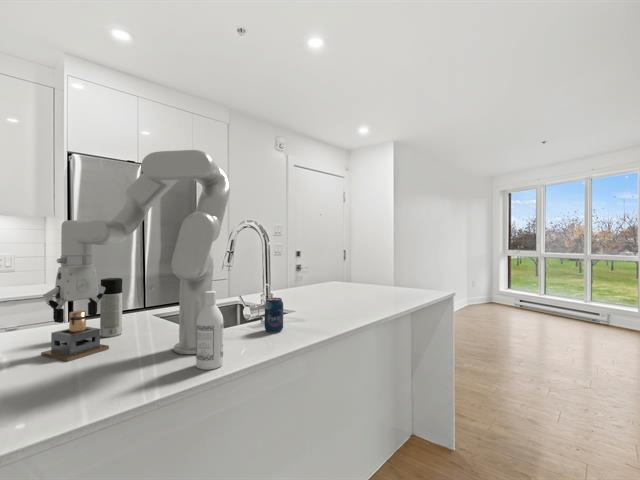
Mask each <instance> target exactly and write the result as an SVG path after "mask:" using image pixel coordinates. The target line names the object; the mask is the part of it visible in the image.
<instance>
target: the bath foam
mask: <svg viewBox="0 0 640 480" xmlns="http://www.w3.org/2000/svg"><path fill="white" fill-rule="evenodd" d="M195 363H196V364H195V365H196V367H197V368H198V369H199V370H203V371H204V370H205V371H208V370H215V369H218V368H220V367H221V366H223V364H224V316H223V313H222V312H221V310H220V308H219V307H218V306H217V292H216V291H215V290H212V291H206V292H205V305H204V307H203V308H202V310H201V312H200V313H199V315H198V318H197V324H196V354H195Z"/></svg>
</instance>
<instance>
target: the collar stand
mask: <svg viewBox="0 0 640 480" xmlns="http://www.w3.org/2000/svg"><path fill="white" fill-rule="evenodd" d="M50 336H51V337H50V338H51V339H50V340H51V341H50V345H51V346H50V347H51V348H50V349H49V350H46V351H45V350H44V351H41V352H40V357H45V358H50V359H53V360H58V361H59V360H60V361H63V362H72V361H75V360H78V359H80V358H85V357H87V356H90V355H94V354H96V353H97V354H98V353H101V352H105V351H107V350H109V349H110V346H109V345H107V344H101V336H100V328H97V327H91V326H86V331H83V332H79V333H75V334H69V328H67V329H62V330H58V331H53V332H51V335H50ZM84 339H86V343H82V344H78V345H76V341H80V340H84Z"/></svg>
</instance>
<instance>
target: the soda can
mask: <svg viewBox="0 0 640 480" xmlns="http://www.w3.org/2000/svg"><path fill="white" fill-rule="evenodd" d="M265 300H266V301H265V302H264V330H265V331H266V332H267V333H271V334H275V333H280V332H282V331H283V328H284V302H283V299H282V298H281V297H268V298H266V299H265Z"/></svg>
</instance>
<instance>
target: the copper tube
mask: <svg viewBox="0 0 640 480" xmlns="http://www.w3.org/2000/svg"><path fill="white" fill-rule="evenodd" d="M86 318H87V311H86V310H75V311H70V312H69V316H68V319H69V322H68V323H69V325H68V326H69V328H68V329H69V334H75V333H79V332H83V331H86V327H87V323H86V321H87V319H86ZM82 343H86V339H84V340H80V341H76V345H78V344H82Z"/></svg>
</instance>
